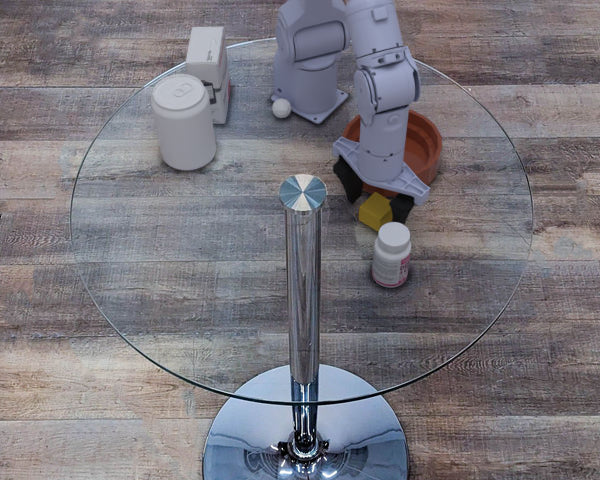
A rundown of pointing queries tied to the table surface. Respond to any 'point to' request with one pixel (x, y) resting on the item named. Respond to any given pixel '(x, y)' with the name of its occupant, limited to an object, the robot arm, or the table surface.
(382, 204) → the cube
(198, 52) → the ink box
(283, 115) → the white ball
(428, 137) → the bowl
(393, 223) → the pill bottle
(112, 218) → the table surface
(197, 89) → the beverage can
